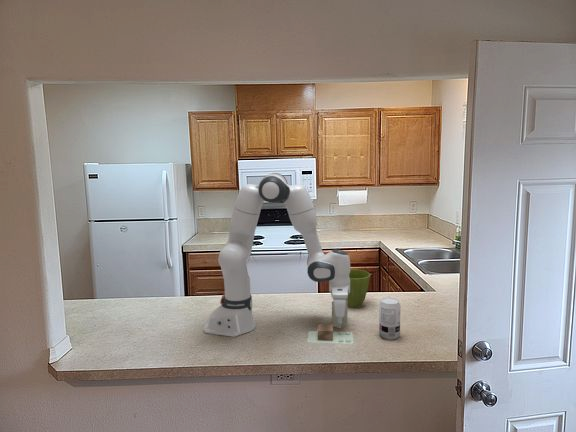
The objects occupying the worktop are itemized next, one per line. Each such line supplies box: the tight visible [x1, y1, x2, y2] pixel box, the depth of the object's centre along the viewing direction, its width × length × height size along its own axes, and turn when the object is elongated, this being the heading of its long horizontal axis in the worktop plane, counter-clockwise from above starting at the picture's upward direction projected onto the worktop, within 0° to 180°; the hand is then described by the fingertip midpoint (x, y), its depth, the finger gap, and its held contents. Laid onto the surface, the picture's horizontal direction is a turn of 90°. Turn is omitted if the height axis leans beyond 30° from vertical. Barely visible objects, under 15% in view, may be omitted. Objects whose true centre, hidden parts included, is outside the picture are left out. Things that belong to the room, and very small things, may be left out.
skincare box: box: [331, 300, 349, 329], centre depth 174 cm, size 6×4×12 cm
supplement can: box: [378, 297, 401, 340], centre depth 165 cm, size 8×8×15 cm
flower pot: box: [346, 269, 371, 309], centre depth 198 cm, size 15×15×16 cm
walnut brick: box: [317, 323, 334, 341], centre depth 163 cm, size 6×6×4 cm
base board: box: [307, 330, 354, 345], centre depth 163 cm, size 18×10×2 cm, turn 83°
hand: (339, 318), depth 174 cm, fingers closed on skincare box, 7 cm apart
